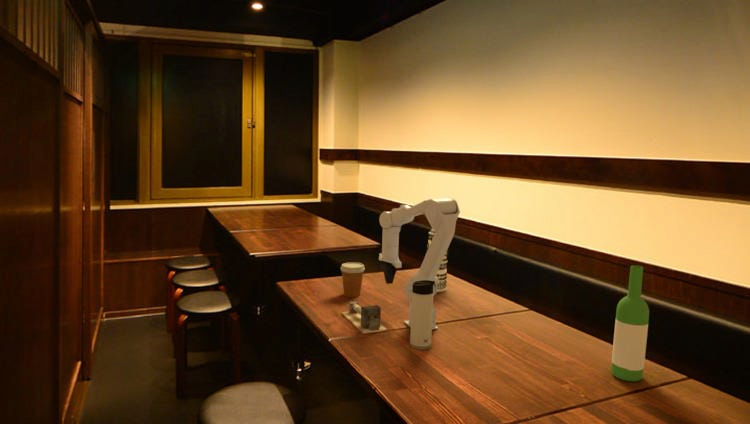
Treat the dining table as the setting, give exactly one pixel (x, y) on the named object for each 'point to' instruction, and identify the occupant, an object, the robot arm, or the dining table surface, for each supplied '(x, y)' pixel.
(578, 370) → the dining table surface
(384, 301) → the dining table surface
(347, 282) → the disposable coffee cup
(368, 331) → the pipe stand
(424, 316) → the travel mug
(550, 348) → the dining table surface
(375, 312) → the grey notched block
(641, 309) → the wine bottle
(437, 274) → the decorative candle
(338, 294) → the dining table surface
